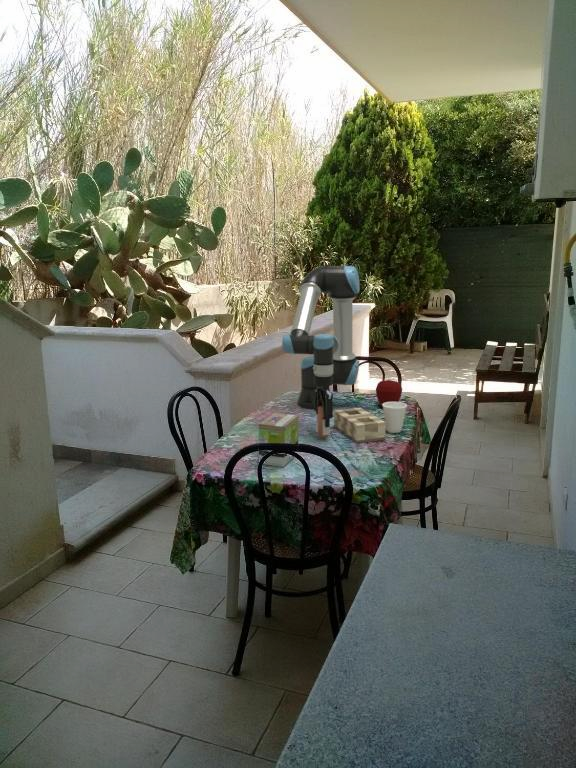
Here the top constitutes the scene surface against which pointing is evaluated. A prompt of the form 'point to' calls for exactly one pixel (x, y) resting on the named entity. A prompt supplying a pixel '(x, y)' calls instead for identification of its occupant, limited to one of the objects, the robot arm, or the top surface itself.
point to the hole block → (359, 425)
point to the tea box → (278, 435)
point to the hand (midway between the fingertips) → (323, 432)
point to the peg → (320, 422)
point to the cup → (394, 416)
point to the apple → (388, 391)
